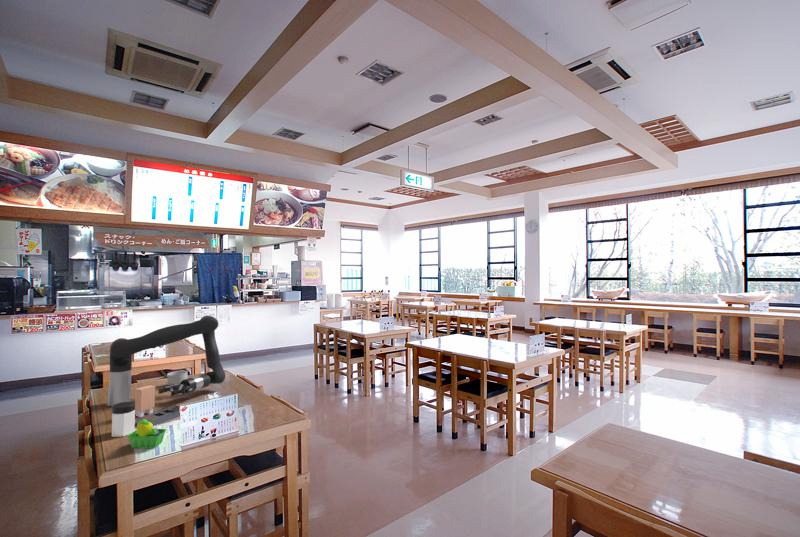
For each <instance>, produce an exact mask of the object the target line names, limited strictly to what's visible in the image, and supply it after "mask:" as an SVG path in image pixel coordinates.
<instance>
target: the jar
mask: <svg viewBox="0 0 800 537" xmlns="http://www.w3.org/2000/svg"><path fill="white" fill-rule="evenodd" d="M135 425H136V410H135V401H131V402H122V403H117V404H115V405H113V406H111V437H115V438H117V437H118V438H119V437H121V438H122V436H123V437H126V436H128V435H129V434H131V433H133V432H134V431H135Z"/></svg>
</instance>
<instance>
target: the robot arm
mask: <svg viewBox="0 0 800 537" xmlns="http://www.w3.org/2000/svg"><path fill="white" fill-rule="evenodd" d="M218 327H219V321H218V319H217V318H216V317H214V316H213V315H205V316H204V315H203V316H202V317H201V318H200V319H199V320H196V321H193V322H192V321H191V322H190V323H182V324H174V325H170V326H166V327H162V328H159V329H156V330H153V331H152V332H149V333H147V334H144V335H142V336H138V337H134V338H130V339H129V338H128V339H127V338H123V337H121V338H117V339H115V340H114V341H112V342H111V344H110V348H109V381H108V382H109V383H108V384H109V386H108V387H107V402H106V403H107V404H106V406H107V407H112V406H113V405H115V404H117V403H122V402H132V400H131V399H132V396H131V395H132V369H133V368H132V366H133V364H132V362H133V361H132V356H133V355H134V354H137V353H139V352H142V351H146V350H149V349H151V350H152V349H154V348H155V349H156V348H159V347H162V346H166V345H170V344H173V343H177V342H180V341H182V340H186V339H189V338H190V337H193V336H198V335H202V339H203V342H204V343H203V344H204V352H205V358H206V366H207V368H208V369H211V370H212V371H208V372H205V373H204V374H200V375H198V376H196V375H195V376H192V377H188V378H187V379H185V380H182V381H181V383H180V384H176V385H174V384H170V385H169V384H167V385H163V386H162V388H160V389H158V394H159V395H161V394H164V393H170V396H171V397H174V396H177V395H187V394H189V393H193V392H196V391H198V390H200V389H204V388H207V387H208V386H210V385H212V384H215V385H216V384H218V385H219V384H222V383H223V382H224V381H225V379H226V372H225V371H224V367H223V365H222V363H221V359H220V358H221V357H220V352H219V348H218V344H217V341H216V333H215V332H216V330H217V329H218Z"/></svg>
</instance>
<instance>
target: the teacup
mask: <svg viewBox="0 0 800 537" xmlns="http://www.w3.org/2000/svg"><path fill="white" fill-rule="evenodd" d="M166 375H167V376H166V377H167V380H166V381H167V385H170V384H174V385H176V384H180V383H181V381H182V380H185V379H188V378H189V377H188V371H187V370H184V369H181V370H176V371H175V370H174V371H171V372H168V373H167V374H166Z"/></svg>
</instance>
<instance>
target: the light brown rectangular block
mask: <svg viewBox="0 0 800 537" xmlns="http://www.w3.org/2000/svg"><path fill="white" fill-rule="evenodd" d="M134 392H135V393H134V395H135V396H134V403H135V417H136V416H138V417H137V418H140V417H143V416H145V414H146V413H147V415H148V414H151V413H154V408H155V406H156V402H155V401H156V385H150V384H148V385H144V386H141V387H137V388H135V391H134Z"/></svg>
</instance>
